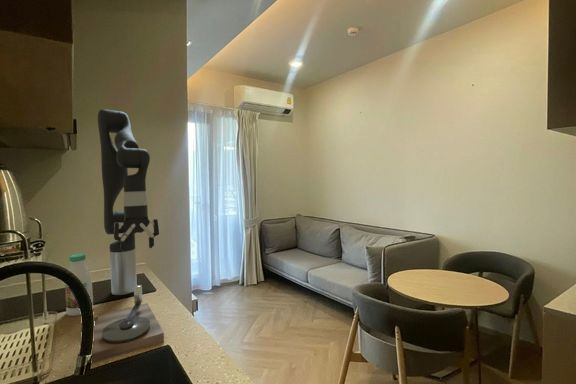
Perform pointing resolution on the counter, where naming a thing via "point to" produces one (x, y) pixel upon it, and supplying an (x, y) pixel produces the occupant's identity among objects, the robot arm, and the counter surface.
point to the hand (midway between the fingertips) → (137, 249)
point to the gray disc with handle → (128, 324)
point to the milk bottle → (84, 275)
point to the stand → (109, 350)
